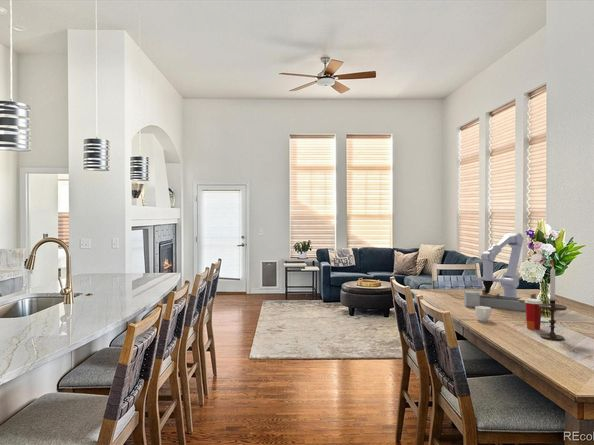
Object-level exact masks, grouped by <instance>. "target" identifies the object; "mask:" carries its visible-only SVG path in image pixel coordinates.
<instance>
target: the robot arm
mask: <svg viewBox="0 0 594 445" xmlns="http://www.w3.org/2000/svg"><path fill="white" fill-rule="evenodd" d="M523 242H524V236H523V234H522V233H520V232H518V233H515V232H512V233H511V232H506V233H505V234H504V235H503V237H502V239H501V240H500V241H499V242H498V243H497V244H492V245H491V247H489V249H487V250H486V251H483V252H482V253H481V255H480V259H481V260H482V261H481V262H482V265H483V266H482V276H475V281H482V284H483V286H484V289H486V293H491V288H492V286H493V284H494V283H500V285H501V287H502V288H503V290H502V292H503V295H502V296H510V297H518V291H517V288H518V287H519V285H520V277H519V275H518V274H517V270H518V266H519V262H520V256H521V252H522V247H523ZM507 245H508V246H509V247H510V248H511V251H510V255H509V260H508V265H507V269H506V272H504V273H503V274H502V277H501V278H496V277H494V261H495V260H496V257H497V256H498V255H499V254H500V253H501V252H502V249H503V248H504V247H506V246H507Z"/></svg>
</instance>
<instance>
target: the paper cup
mask: <svg viewBox="0 0 594 445" xmlns="http://www.w3.org/2000/svg"><path fill="white" fill-rule="evenodd" d="M525 303H526V311H525V318H526V320H525V321H526V329H527V330H531V331H540V330H541V322H542V321H541V320H542V310H543V309H542V308H539V304H544V303H543V302H542V299H540V298H539V299H526V300H525Z"/></svg>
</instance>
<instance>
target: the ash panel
mask: <svg viewBox="0 0 594 445" xmlns="http://www.w3.org/2000/svg"><path fill="white" fill-rule="evenodd" d="M520 298H521V299H518V301H521V302H525V300H526V299H537V298H538V297H537V295H536V293H532V294H530V296H526V295H525V296H523V297H520Z"/></svg>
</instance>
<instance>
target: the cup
mask: <svg viewBox="0 0 594 445" xmlns="http://www.w3.org/2000/svg"><path fill="white" fill-rule="evenodd" d="M474 311H475V313H474V314H475V316H476V318H477V320H478V321H480V322H488V320H490V317H491V315H492V307H487V306H476V307H474Z"/></svg>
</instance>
